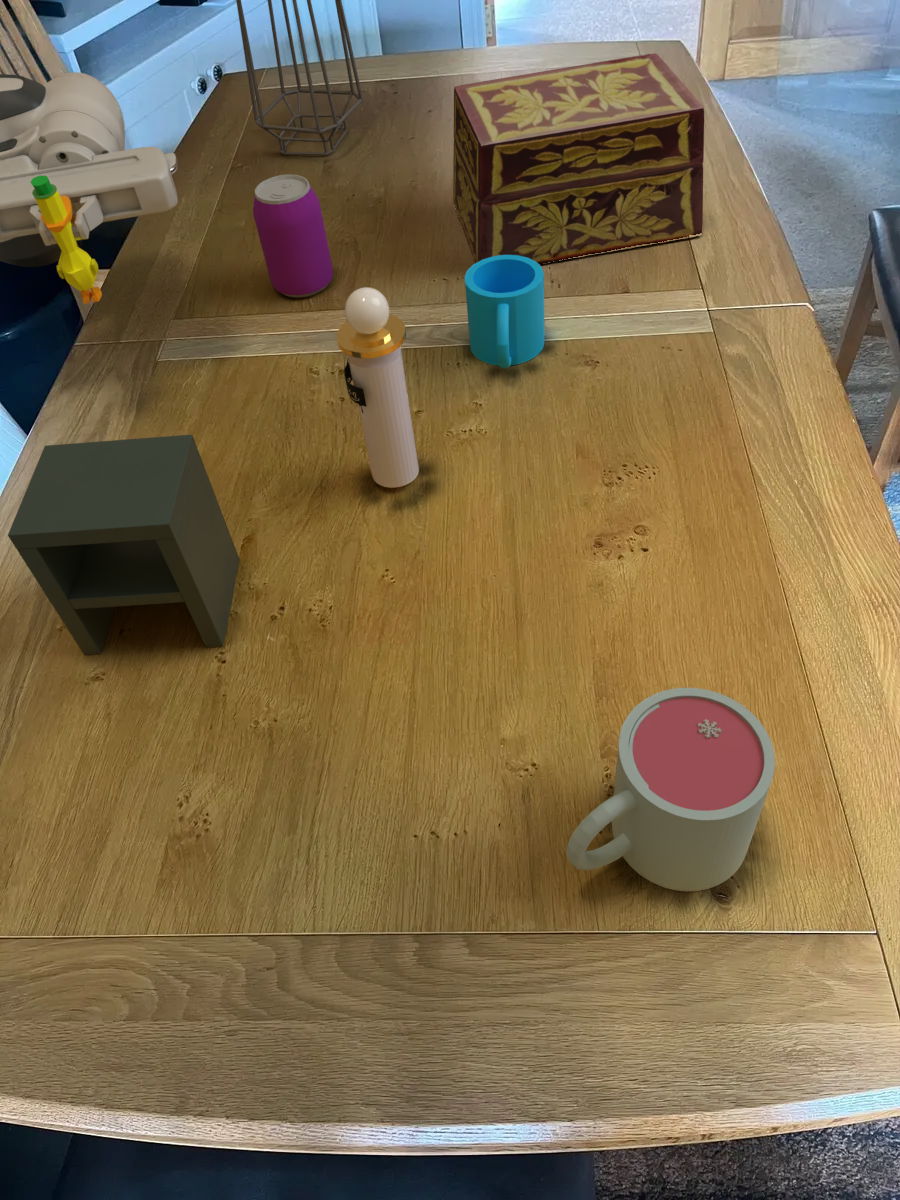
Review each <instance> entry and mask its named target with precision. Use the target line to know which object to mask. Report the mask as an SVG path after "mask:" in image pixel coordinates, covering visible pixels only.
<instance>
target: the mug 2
mask: <svg viewBox="0 0 900 1200" xmlns="http://www.w3.org/2000/svg"><path fill="white" fill-rule="evenodd" d="M769 735H770V734H769V733H768V732H767V730H766V728H765V727H764V725H763V724H762V722H761V721H760V720H759V719H758V718H757V716H756V715H754V713H752V712H751V710H749V709H748V708H747V707H745V706H744V705H743V704H741V703H740V702H738V701H737V700H735V699H733V698H731V697H729V696H727V695H726V694H725V695H724V694H722V693H720V692H717V691H713V690H709V689H706V688H705V689H704V688H698V687H674V688H670V689H664V690H662V691H659V692H656V693H653V694H652V695H650V696H648V697H647V698H644V699H643V700H642V701H640V702H639V703H638V704H637V705H636V706H634V708H633V709H632V710H631V711H630V713H629V714H628V715H627V716H626V718H625V720H624V722H623V724H622V726H621V729H620V733H619V738H618V746H617V758H616V767H615V768H616V769H615V780H614V791H613V796H611V797H609V798H608V799H606V800H605V801H603V802H602V803H600V804H599V805H598V806H597V807H596V808H594V809H593V810H591V812H590V813H588V814H587V816H585V817H584V818H583V820H581V822H580V823H579V824H578V826H576V828H575V829H574V830H573V833H572V834H571V836H570V838H569V840H568V843H567V847H566V856H567V859H568V862H569V863H570V864H571V865H572V866H573V867H574V868H575V869H577V870H581V871H592V870H597V869H599V868H602V867H605V866H608V865H609V864H611V863H613V862H616V861H618V860H619V859H620V858H623V859H624V861H626V863H627V864H628V866H630V867H631V868H632V869H633V870H634V871H635V872H636V873H637V874H639V875H640V876H641V877H643V878H644V879H646V880H647V881H649V882H651V883H652V884H655V885H658V886H659V887H661V888H664V889H667V890H668V889H669V890H673V891H676V892H700V891H705V890H709V889H712V888H714V887H717V886H719V885H721V884H723V883H725V882H726V881H727V880H729V879H731V877H732V876H734V875H735V874H736V872H737V871H739V869H740V868H741V866H742V864H743V862H744V861H745V858H746V856H747V853H748V850H749V848H750V844H751V842H752V839H753V836H754V833H755V830H756V828H757V825H758V822H759V819H760V816H761V813H762V810H763V807H764V804H765V801H766V799H767V796H768V792H769V790H770V787H771V784H772V782H773V779H774V774H775V769H776V758H775V757H776V756H775V751H774V745H773V744H772V740H771V738H770V736H769ZM610 823H611V830H612V835H613V836H612V837H613V839H612V840H611V841H609V842H607V843H605V844H604V845H602V846H600V847H597V848H595V849H591V850H587V849H588V847H589V846H590V843H592V841H593V840H594V839H595V837H596V836H597V835H599V833H600V832H601V831H602V830H603V829H604V828H605V827H606V826H608V825H609V824H610Z"/></svg>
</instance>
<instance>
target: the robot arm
mask: <svg viewBox="0 0 900 1200" xmlns="http://www.w3.org/2000/svg"><path fill="white" fill-rule="evenodd" d="M125 125H126V124H125V118H124V115H123V111H122V107H121V106H120V103H119V102H118V99H117V98H116V96H115V95H114V93H113V92H112V91H111V90H110V89H109V87H107V86H106V85H105V84H104V83H103V82H101V80H99V79H97V78H96V77H94V76H91V75H89V74H87V73H84V72H78V71H77V72H75V71H74V72H66V73H62V74H60V75H58V76H56V77H54V78H52V79H50V80H49V81H48V82H45V83H43V84H42V83H40V82H38V81H36V80H34V79H30V78H28V77H26V76H22V75H19V74H10V73H9V74H6V73H0V262H3V263H6V264H9V265H13V266H17V267H23V268H38V267H39V268H40V267H45V266H49V265H52V264H54V263H56V262H59V259H60V255H61V252H62V250H61V249H60V247H59V245H58V244H57V242H56V240H55V238H54V236H53V235H52V233H51V231H50V230H49V229H48V228H47V226H46V225H45V224H44V222H43V220H42V219H41V215H42V214H41V211H40V209H39V207H38V204H37V202H36V200H35V198H34V196H33V194H32V192H33V190H34V189H35V188H34V187H33V185H32V184H31V180H32V179H33V178H35V177H37V176H40V175H42V176H47V177H48V179H49V181H50V184H53V185H55V186H56V188H57V191H58V192H59V194H60V196H64V195H65V196H67V197H68V198H69V199H70V201H71V205H72V219H71V221H70V222H71V228H72V232H73V236H74V239H75V240H76V242H77V241H83V240H88V239H89V238H90V237H89V236H90V232H91V231H93V230H94V229H96V228H97V227H98V226H100V225H101V224H103V223H107V222H113V221H118V220H119V221H120V220H124V219H129V218H136V217H141V216H149V215H154V214H159V213H165V212H169V211H171V210H172V209H174V208H175V207H176V206H177V205H178V203H179V199H178V192H177V188H176V185H175V181H174V178H173V175H174V173H176V172H177V170H178V169H179V168H178V166H179V164H178V163H179V161H178V160H179V159H178V156H176V154H175V153H174V152H169V153H168V152H167V153H164V152H163V150H162V149H161V148H159V147H156V146H141V147H135V148H130V149H129V148H128V149H125V148H126V147H125V146H126V126H125Z"/></svg>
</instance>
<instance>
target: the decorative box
mask: <svg viewBox="0 0 900 1200" xmlns="http://www.w3.org/2000/svg"><path fill="white" fill-rule="evenodd" d="M704 156H705V108H704V106H703V105H702V103H701V102H700V101H699V100H698V99H697V97H696V96H695V95H694V94H693V93H692V91H690V90H689V88H688V87H687V86H686V85H685V83H683V81H682V80H681V79H680V78H679V77H678V75H676V73H675V72H674V71H673V69H671V68H670V67H669V65H668V64H667V63H666V62H665V61H664V60H663V58H662V57H660V55H659V54H658V53H647V54H639V55H634V56H628V57H622V58H616V59H610V60H604V61H597V62H592V63H586V64H579V65H573V66H568V67H562V68H555V69H550V70H544V71H537V72H531V73H526V74H519V75H513V76H507V77H501V78H493V79H488V80H483V81H477V82H472V83H466V84H459V85H457V86H454V88H453V162H452V163H453V166H452V169H453V171H452V175H453V177H452V179H453V180H452V181H453V182H452V184H453V185H452V186H453V188H452V194H453V195H452V204H453V206H454V205H455V207H454V209H455V208H456V210H455V212H456V211H457V212H456V214H457V213H458V215H457V217H458V216H459V218H458V220H459V222H461V223H460V226H461V225H462V226H461V228H462V227H463V228H462V231H463V230H464V231H463V233H465V234H464V236H465V239H466V238H467V239H466V241H468V242H467V244H468V247H469V246H470V247H469V250H470V249H471V250H470V252H471V256H472V258H473V257H474V258H473V260H474V264H475V263H477V262H479V261H481V260H483V259H486V258H489V257H493V256H500V255H518V256H523V257H527V258H530V259H532V260H534V261H536V262H537V263H538V264H543V263H548V262H553V261H554V263H556V262H555V261H559V260H562V259H563V260H564V259H568V258H573V257H578V256H583V255H588V254H595V253H601V252H607V251H611V250H615V249H616V250H617V249H621V248H625V247H631V246H636V245H642V244H650V243H658V242H662V241H663V242H664V241H667V240H673V239H679V238H683V237H687V236H689V235H696V234H700V233H702V234H703V218H704V216H703V211H704V164H703V163H704ZM543 265H544V264H543Z"/></svg>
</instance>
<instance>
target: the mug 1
mask: <svg viewBox="0 0 900 1200" xmlns="http://www.w3.org/2000/svg"><path fill="white" fill-rule="evenodd" d="M464 289H465V300H466V301H465V302H466V311H467V312H466V313H467V323H468V324H467V325H468V337H469V346H470V347H469V348H470V352H471V353H472V354H473V356H474V357H475V358H476V359H478V360H479V361H481V362H483V363H485V364H489V365H492V366H498V367H499V368H501V369H508V368H510V367H511V366H515V365H516V366H517V365H521V364H523V363H527V362H529V361H531V360H533V359H534V358H536V357H538V355H539V354H540V353H541V352H542V350H543V349H544V346H545V342H546V341H545V340H546V338H545V333H546V332H545V274H544V268H543V267H542V265H539V264H538V263H537V262H536V261H534V260H532V259H530V258H527V257H523V256H518V255H500V256H493V257H489V258H486V259H483V260H481V261H479V262H477V263H475V262H474V263H473V264H472V265H471V266H470V267H469V268H468V269H467V270H466V271H465V275H464Z"/></svg>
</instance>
